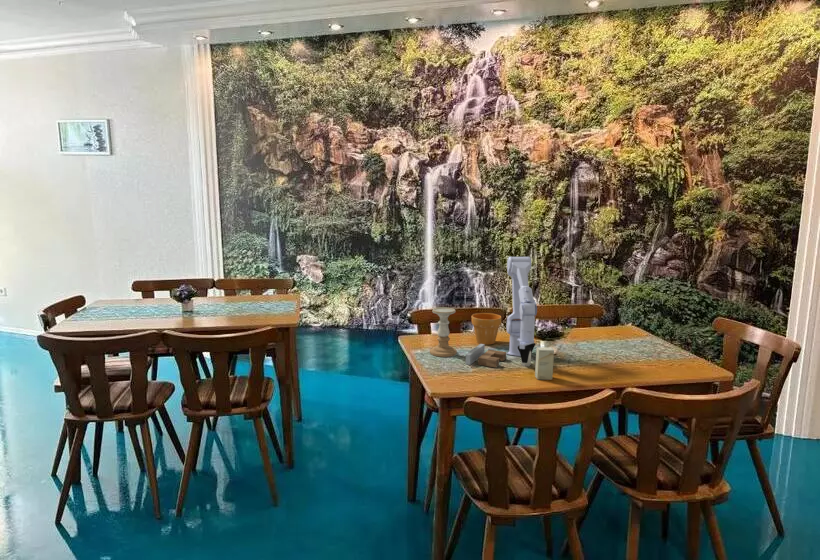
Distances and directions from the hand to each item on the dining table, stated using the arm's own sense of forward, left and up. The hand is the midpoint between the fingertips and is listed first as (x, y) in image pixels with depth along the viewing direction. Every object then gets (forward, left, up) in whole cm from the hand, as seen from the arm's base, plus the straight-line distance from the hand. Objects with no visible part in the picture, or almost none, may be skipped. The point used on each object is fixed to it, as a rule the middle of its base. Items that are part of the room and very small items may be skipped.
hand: (526, 361), depth 252 cm
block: (+3, -14, -2) cm, 14 cm away
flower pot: (-25, -27, -2) cm, 37 cm away
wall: (+2, -22, -2) cm, 22 cm away
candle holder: (+1, -38, -2) cm, 38 cm away
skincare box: (+13, +11, -2) cm, 17 cm away
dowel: (0, 0, -2) cm, 2 cm away
